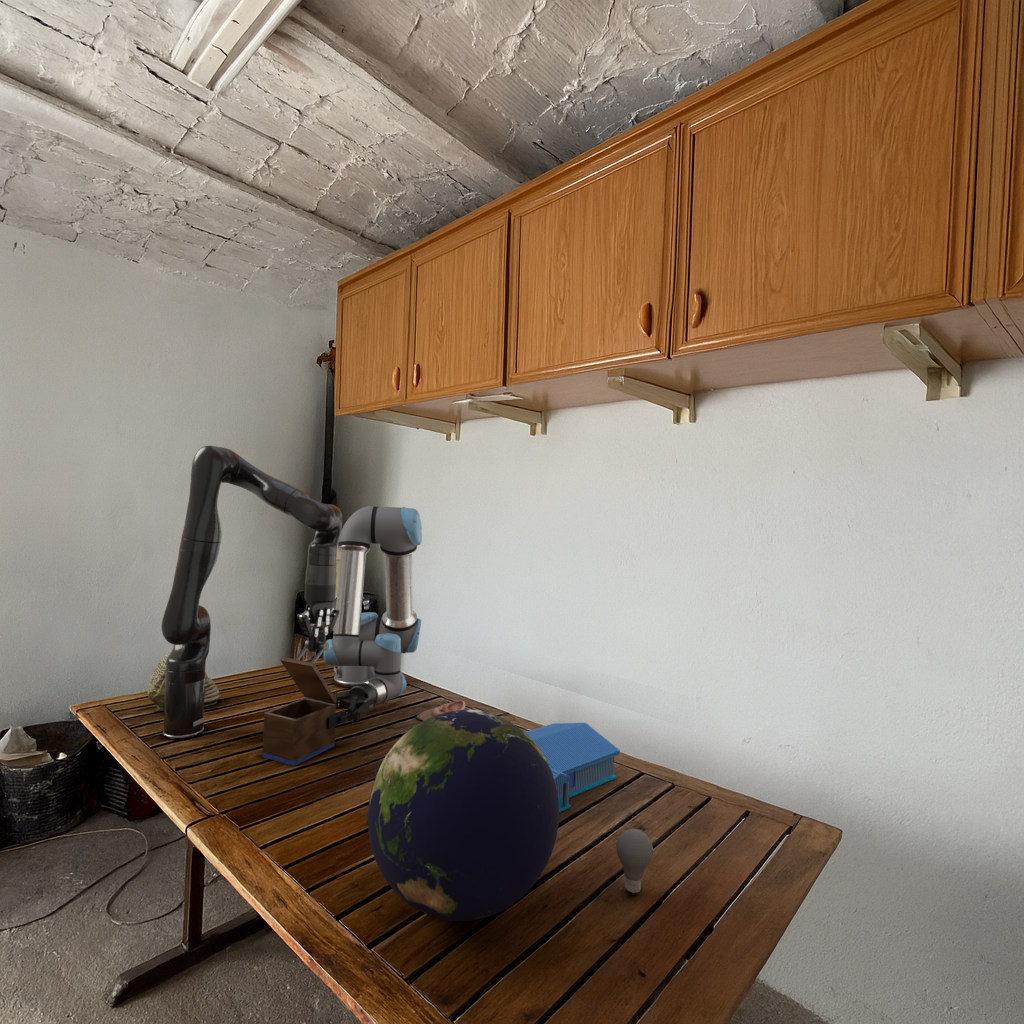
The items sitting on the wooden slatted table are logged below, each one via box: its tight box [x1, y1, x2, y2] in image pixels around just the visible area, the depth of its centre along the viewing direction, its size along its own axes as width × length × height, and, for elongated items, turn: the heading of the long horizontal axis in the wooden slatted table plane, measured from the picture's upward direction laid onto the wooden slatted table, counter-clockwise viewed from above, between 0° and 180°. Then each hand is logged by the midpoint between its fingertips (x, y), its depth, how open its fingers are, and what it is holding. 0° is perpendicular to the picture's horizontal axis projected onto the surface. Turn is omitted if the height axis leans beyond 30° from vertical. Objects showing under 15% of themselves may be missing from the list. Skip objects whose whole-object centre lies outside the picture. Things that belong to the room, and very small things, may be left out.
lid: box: [279, 639, 337, 704], centre depth 161 cm, size 15×10×9 cm
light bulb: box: [615, 828, 654, 894], centre depth 106 cm, size 6×6×10 cm
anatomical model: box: [416, 700, 466, 722], centre depth 185 cm, size 13×4×12 cm
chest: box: [261, 697, 337, 767], centre depth 157 cm, size 14×10×11 cm
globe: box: [367, 709, 560, 922], centre depth 100 cm, size 30×30×30 cm
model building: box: [524, 722, 621, 813], centre depth 143 cm, size 39×24×10 cm, turn 132°
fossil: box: [147, 654, 221, 712], centre depth 185 cm, size 9×18×15 cm, turn 132°
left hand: (316, 650), depth 161 cm, fingers closed on lid, 2 cm apart
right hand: (311, 719), depth 160 cm, fingers closed on chest, 10 cm apart
